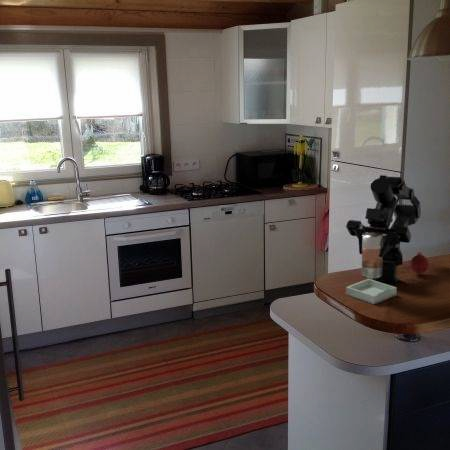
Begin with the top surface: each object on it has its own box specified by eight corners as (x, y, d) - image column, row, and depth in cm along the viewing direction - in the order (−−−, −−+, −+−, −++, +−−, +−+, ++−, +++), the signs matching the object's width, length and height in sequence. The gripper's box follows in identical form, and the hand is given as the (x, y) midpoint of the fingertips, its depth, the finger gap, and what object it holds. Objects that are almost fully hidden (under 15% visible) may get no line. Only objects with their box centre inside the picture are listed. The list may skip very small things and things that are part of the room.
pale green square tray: (368, 286, 174) (368, 278, 173) (396, 295, 166) (396, 287, 165) (346, 294, 168) (346, 286, 167) (373, 304, 160) (374, 296, 159)
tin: (377, 270, 169) (378, 231, 165) (385, 277, 163) (386, 237, 159) (358, 272, 168) (359, 233, 165) (365, 279, 162) (366, 238, 159)
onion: (429, 278, 178) (430, 255, 177) (411, 277, 180) (412, 254, 178) (426, 272, 184) (427, 249, 182) (408, 271, 185) (409, 249, 183)
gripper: (348, 194, 168) (333, 238, 162) (409, 199, 157) (396, 246, 151) (358, 213, 176) (344, 255, 170) (416, 219, 165) (403, 264, 160)
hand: (370, 255), depth 163 cm, fingers closed on tin, 6 cm apart
